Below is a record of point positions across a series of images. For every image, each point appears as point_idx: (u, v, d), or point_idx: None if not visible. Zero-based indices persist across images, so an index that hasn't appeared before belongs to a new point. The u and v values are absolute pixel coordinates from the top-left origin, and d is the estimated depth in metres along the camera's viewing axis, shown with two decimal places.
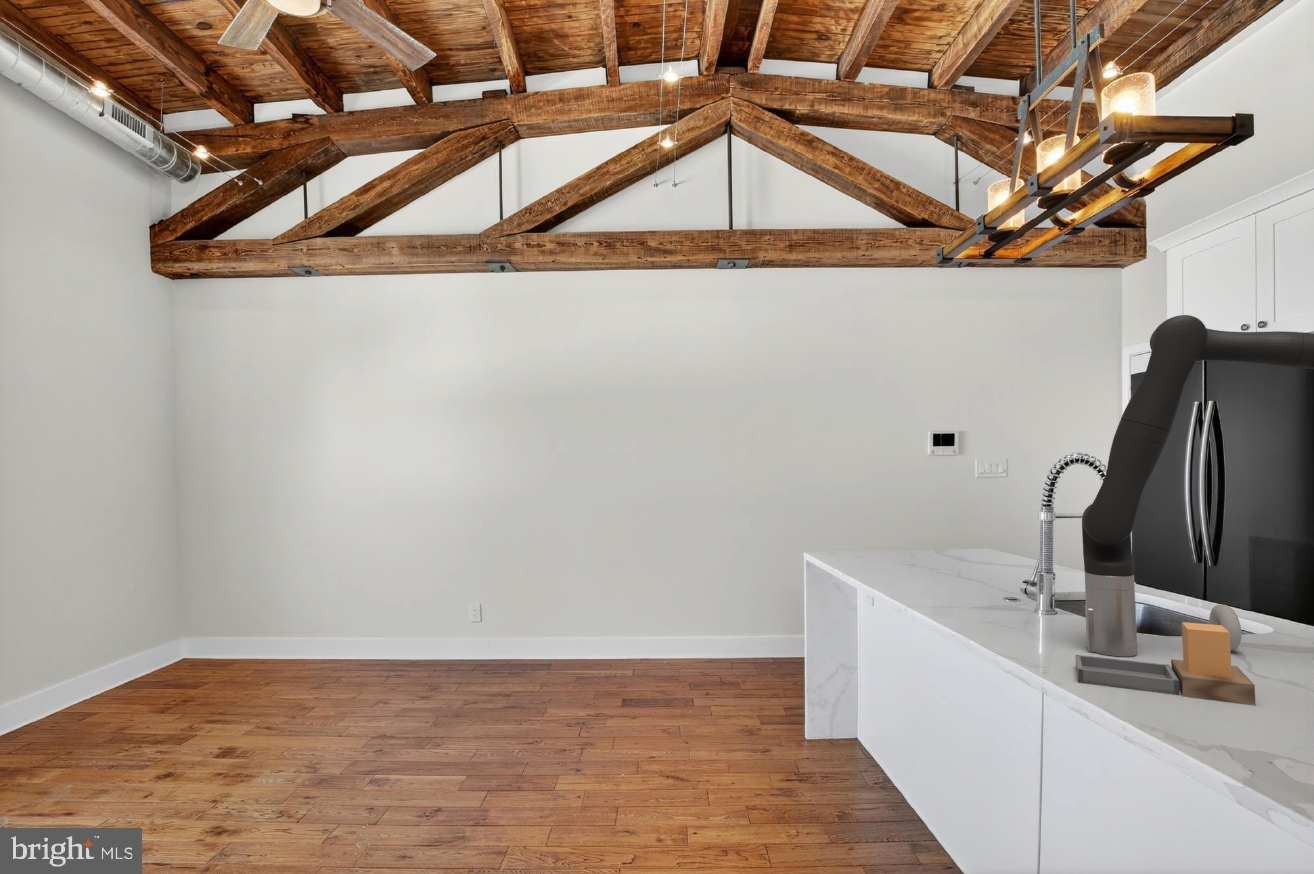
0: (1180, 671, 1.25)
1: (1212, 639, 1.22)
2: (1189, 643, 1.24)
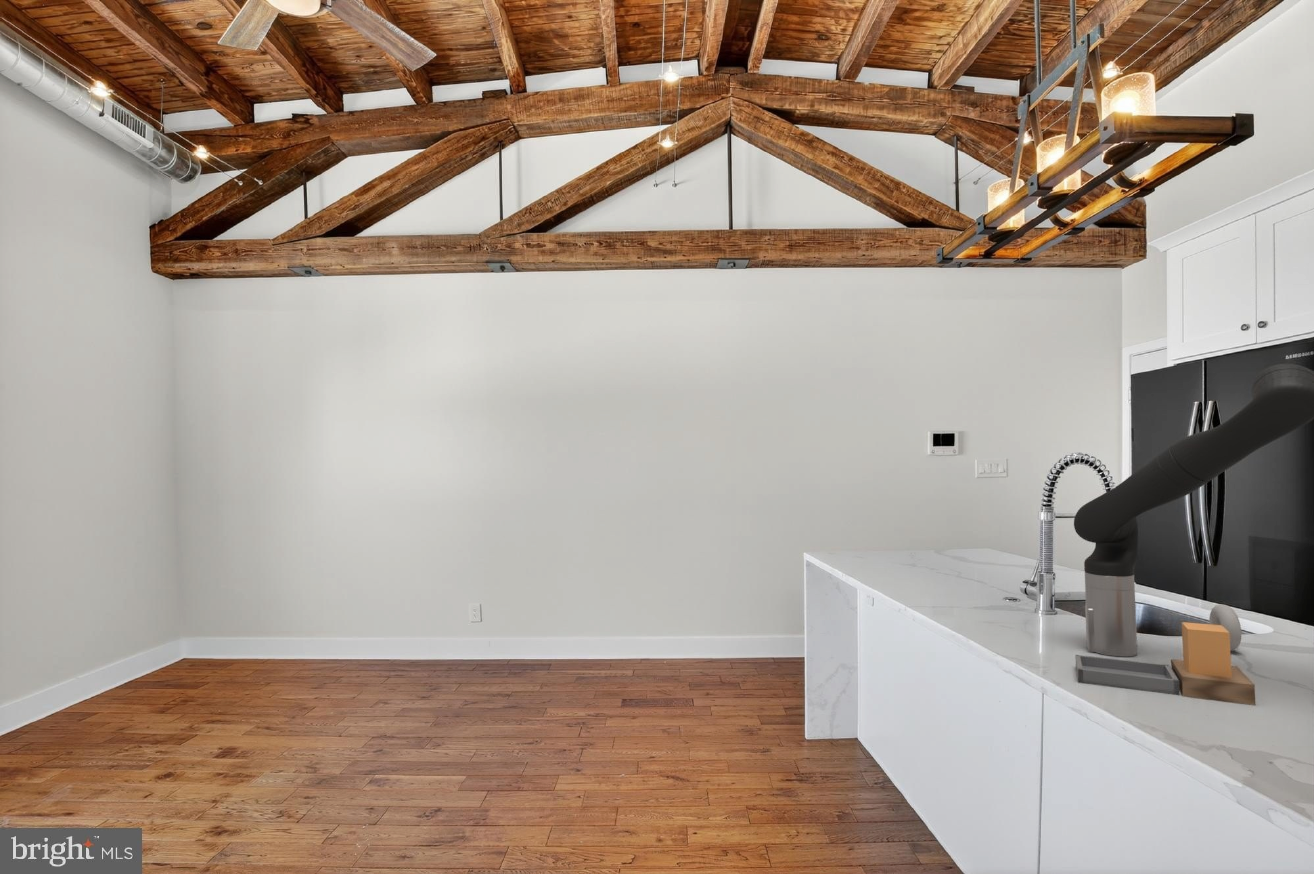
0: (1180, 671, 1.25)
1: (1212, 639, 1.22)
2: (1189, 643, 1.24)
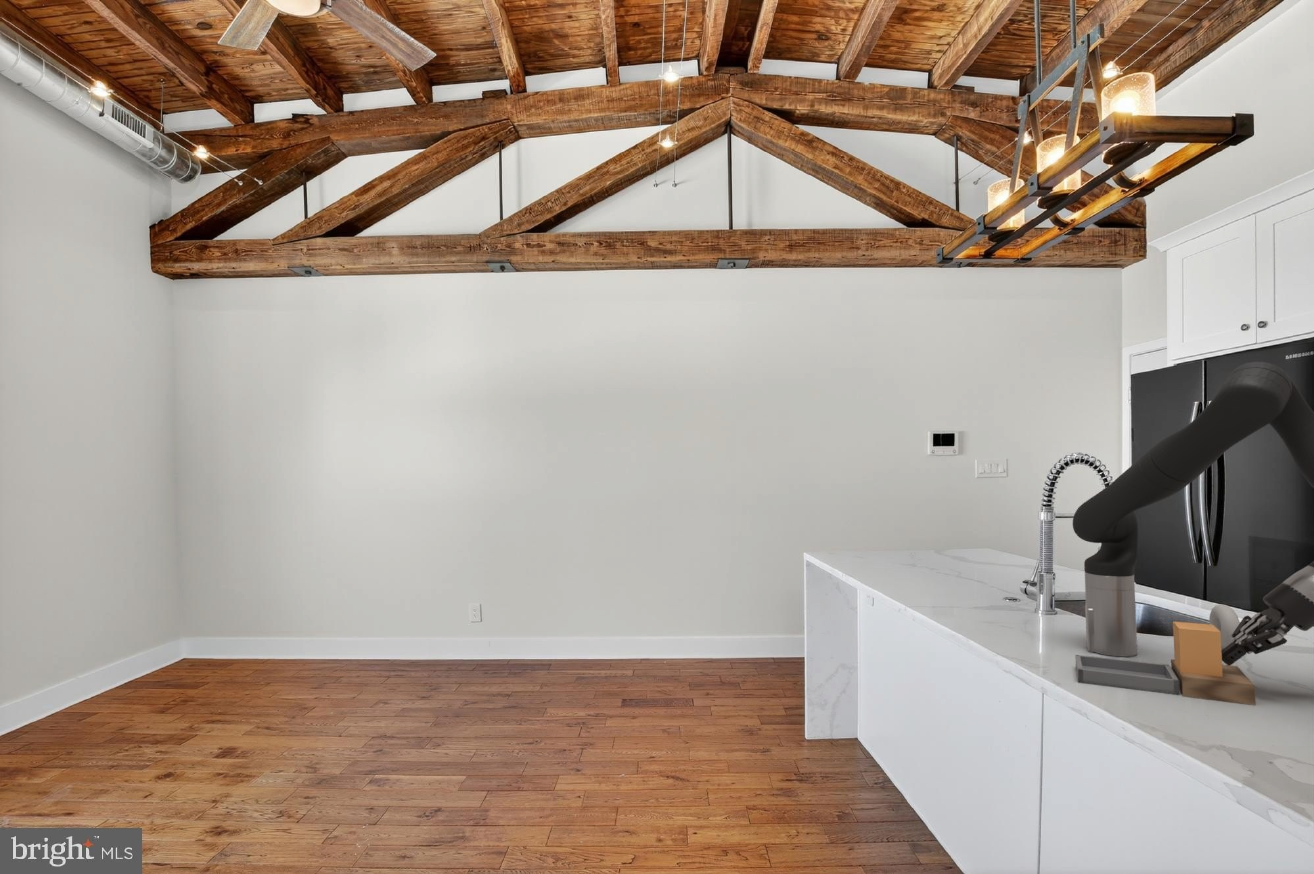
0: None
1: (1203, 638, 1.23)
2: (1180, 642, 1.24)
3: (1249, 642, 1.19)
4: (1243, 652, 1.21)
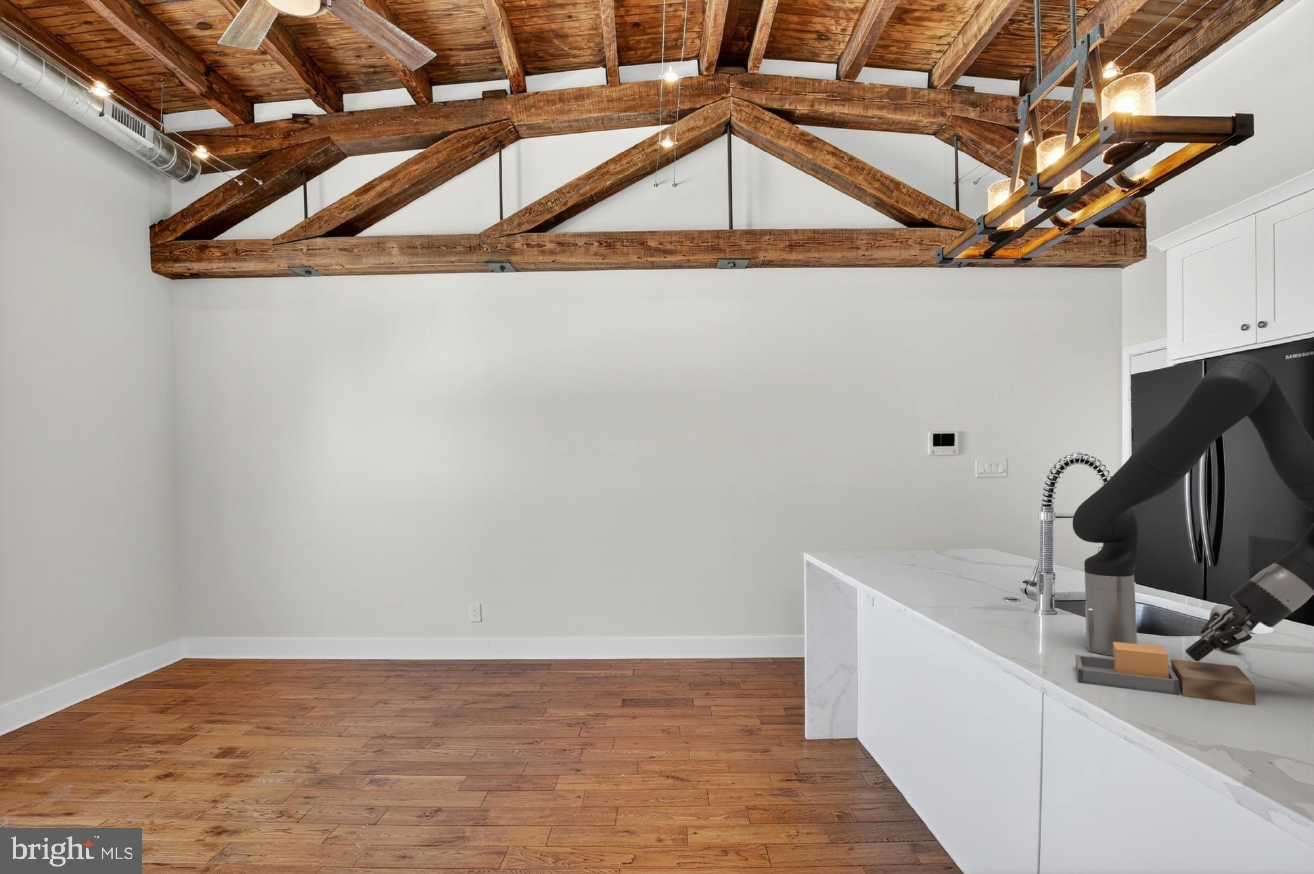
0: (1180, 671, 1.25)
1: (1126, 663, 1.28)
2: None
3: (1216, 638, 1.22)
4: (1210, 648, 1.24)
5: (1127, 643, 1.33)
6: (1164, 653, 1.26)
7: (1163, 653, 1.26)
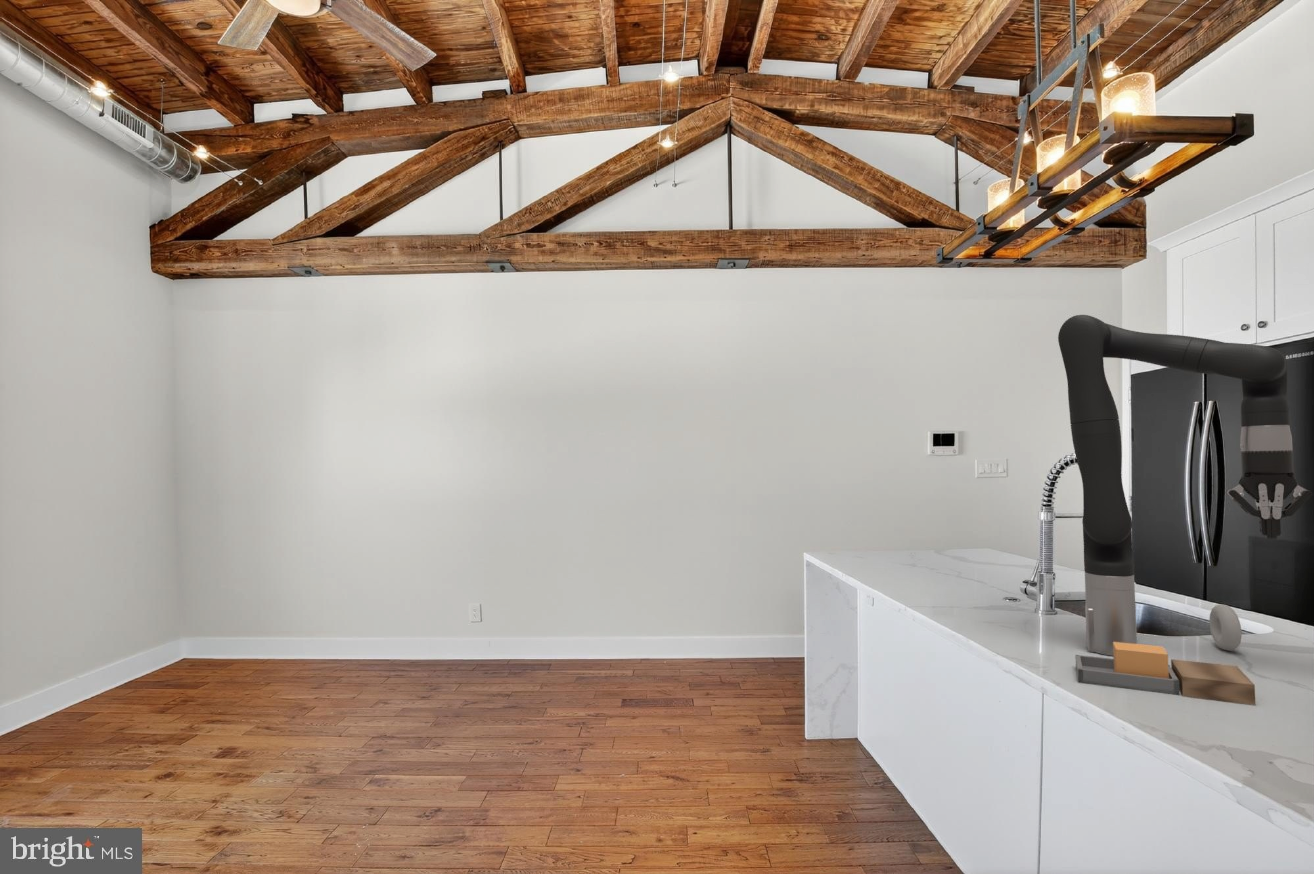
0: (1180, 671, 1.25)
1: (1126, 663, 1.28)
2: None
3: (1244, 510, 1.34)
4: (1260, 520, 1.32)
5: (1127, 643, 1.33)
6: (1164, 653, 1.26)
7: (1163, 653, 1.26)
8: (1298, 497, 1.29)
